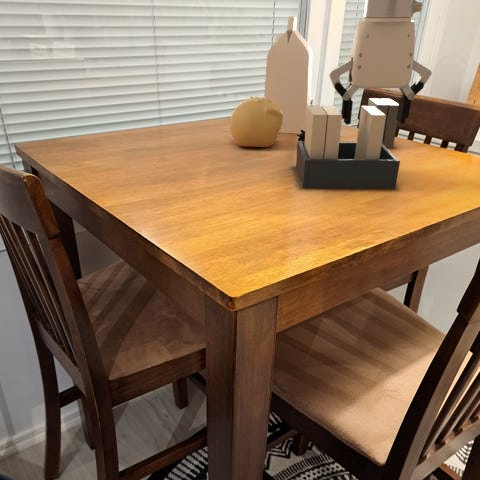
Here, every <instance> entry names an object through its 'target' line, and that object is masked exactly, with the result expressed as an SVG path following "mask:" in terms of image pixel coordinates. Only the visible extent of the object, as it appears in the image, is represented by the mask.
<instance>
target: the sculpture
mask: <svg viewBox="0 0 480 480" xmlns="http://www.w3.org/2000/svg"><path fill="white" fill-rule="evenodd" d="M282 119H283V113H282V111H281V110H280V109H279V108H278V107H276V105H274V104H273V103H272V102H271V100H270V99H268V98H265V97H264V96H263V97H259V96H250V97H249V98H248V99H246V100H243V101H241V102H240V103H238V104H237V105H236V106H235V108H234V109H233V111H232V113H231V115H230V122H229V129H230V134H231V137H232V139H233V141H234V143H235V144H236V145H238V146H241V147H248V148H249V147H251V148H269V147H271V146H272V145H273V144H274V143H275V141H276V140H277V139H278V135H279V134H280V133H279V130H280V129H281V126H282Z"/></svg>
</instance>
